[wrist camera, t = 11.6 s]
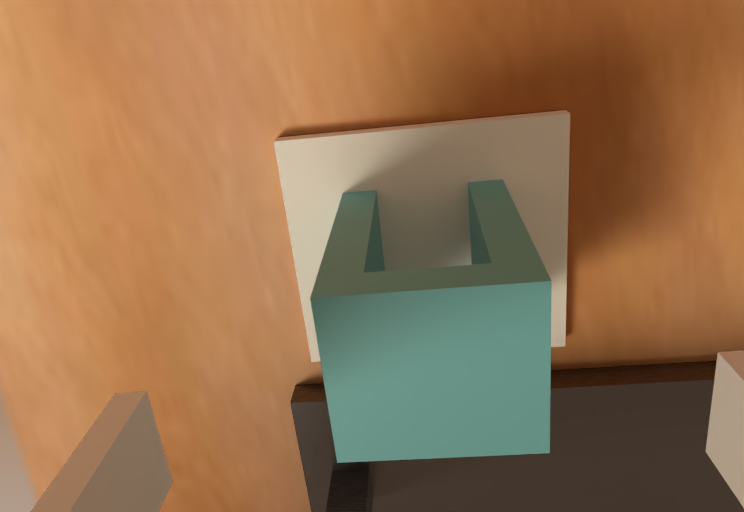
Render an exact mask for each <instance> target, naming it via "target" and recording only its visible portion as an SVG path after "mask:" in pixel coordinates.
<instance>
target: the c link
mask: <svg viewBox="0 0 744 512" xmlns="http://www.w3.org/2000/svg"><path fill="white" fill-rule="evenodd" d="M468 199H469V220H470V242H471V264H472V265H460V266H446V267H433V268H419V269H406V270H392V271H385V265H384V256H383V247H382V237H381V228H380V219H379V210H378V200H377V191H376V190H371V191H359V192H348V193H343V194H342V197H341V200H340V203H339V207H338V210H337V213H336V216H335V219H334V223H333V226H332V229H331V232H330V236H329V239H328V242H327V245H326V248H325V252H324V255H323V258H322V261H321V264H320V268H319V271H318V274H317V277H316V281H315V284H314V287H313V290H312V293H311V297H310V301H311V307H312V313H313V319H314V325H315V331H316V337H317V343H318V349H319V355H320V361H321V368H322V374H323V380H324V386H325V392H326V398H327V404H328V410H329V416H330V422H331V428H332V434H333V440H334V447H335V453H336V459H337V463H344V462H366V461H388V460H410V459H432V458H454V457H476V456H498V455H520V454H542V453H550V385H551V289H552V281H551V279H550V277H549V275H548V273H547V270H546V268H545V266H544V264H543V262H542V260H541V258H540V256H539V254H538V252H537V250H536V248H535V245H534V243H533V241H532V239H531V237H530V235H529V233H528V231H527V229H526V227H525V225H524V223H523V221H522V218H521V216H520V214H519V212H518V210H517V208H516V206H515V204H514V202H513V200H512V198H511V196H510V193H509V191H508V189H507V187H506V185H505V183H504V181H503V179H499V180H487V181H476V182H468Z"/></svg>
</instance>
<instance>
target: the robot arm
mask: <svg viewBox="0 0 744 512" xmlns="http://www.w3.org/2000/svg"><path fill="white" fill-rule="evenodd" d="M706 453H707V454H708V456H709V457H710V459H711V460H712V462H713V463H714V465H715V466H716V468H717V469H718V471H719V472H720V474H721V475H722V477H723V478H724V480H725V481H726V482H727V484H728V485H729V487H730V488H731V490H732V491H733V493H734V494H735V496H736V497H737V499H738V500H739V502H740V503H741V505H742V506H743V508H744V350H741V351H727V352H718V355H717V363H716V371H715V379H714V387H713V395H712V403H711V411H710V419H709V427H708V435H707V443H706ZM172 482H173V481H172V478H171V474H170V471H169V467H168V464H167V460H166V457H165V454H164V450H163V447H162V443H161V440H160V436H159V433H158V430H157V426H156V423H155V419H154V416H153V412H152V409H151V406H150V402H149V399H148V395H147V392H146V391H141V392H126V393H115V394H114V396H113V397H112V399H111V400H110V401H109V403H108V404H107V406H106V407H105V408H104V410H103V411H102V413H101V414H100V415H99V417H98V418H97V420H96V421H95V422H94V424H93V425H92V427H91V428H90V429H89V431H88V432H87V434H86V435H85V436H84V438H83V439H82V441H81V442H80V443H79V445H78V446H77V448H76V449H75V450H74V452H73V453H72V455H71V456H70V457H69V459H68V460H67V462H66V463H65V464H64V466H63V467H62V469H61V470H60V471H59V473H58V474H57V476H56V477H55V478H54V480H53V481H52V483H51V484H50V485H49V487H48V488H47V490H46V491H45V492H44V494H43V495H42V497H41V498H40V499H39V501H38V502H37V504H36V505H35V506H34V508H33V509H32V511H31V512H159V510H160V508H161V506H162V503H163V501H164V499H165V497H166V495H167V493H168V491H169V488H170V486H171V484H172Z"/></svg>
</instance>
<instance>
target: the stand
mask: <svg viewBox="0 0 744 512" xmlns="http://www.w3.org/2000/svg"><path fill="white" fill-rule="evenodd" d="M716 363H717V361H708V362H691V363H674V364H656V365H639V366H622V367H605V368H587V369H570V370H553V371H551V385H550V453H542V454H520V455H498V456H476V457H454V458H432V459H410V460H388V461H366V462H344V463H337V459H336V453H335V447H334V440H333V434H332V428H331V422H330V416H329V410H328V404H327V398H326V392H325V386H324V384H311V385H295V389H294V392H293V396H292V399H291V408H292V413H293V419H294V424H295V429H296V434H297V439H298V444H299V449H300V455H301V460H302V465H303V470H304V475H305V480H306V486H307V491H308V496H309V501H310V506H311V511H312V512H744V508H743V506H742V505H741V503H740V502H739V500H738V499H737V497H736V496H735V494H734V493H733V491H732V490H731V488H730V487H729V485H728V484H727V482H726V481H725V480H724V478H723V477H722V475H721V474H720V472H719V471H718V469H717V468H716V466H715V465H714V463H713V462H712V460H711V459H710V457H709V456H708V454H707V453H706V443H707V435H708V427H709V419H710V411H711V403H712V395H713V387H714V379H715V371H716Z"/></svg>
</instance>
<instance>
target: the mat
mask: <svg viewBox="0 0 744 512" xmlns="http://www.w3.org/2000/svg"><path fill="white" fill-rule="evenodd" d="M274 147H275V153H276V158H277V164H278V170H279V176H280V182H281V188H282V193H283V199H284V205H285V211H286V217H287V222H288V228H289V234H290V240H291V246H292V251H293V257H294V263H295V269H296V275H297V280H298V286H299V292H300V298H301V304H302V310H303V315H304V321H305V327H306V333H307V339H308V344H309V350H310V356H311V362H319V361H320V355H319V349H318V343H317V337H316V331H315V325H314V319H313V313H312V307H311V301H310V297H311V293H312V290H313V287H314V284H315V281H316V277H317V274H318V271H319V268H320V264H321V261H322V258H323V255H324V252H325V248H326V245H327V242H328V239H329V236H330V232H331V229H332V226H333V223H334V219H335V216H336V213H337V210H338V207H339V203H340V200H341V197H342V194H343V193H348V192H359V191H371V190H376V191H377V200H378V210H379V219H380V228H381V237H382V247H383V256H384V265H385V271H392V270H406V269H419V268H433V267H446V266H460V265H472V264H471V242H470V220H469V199H468V182H476V181H487V180H499V179H503V181H504V183H505V185H506V187H507V189H508V191H509V193H510V196H511V198H512V200H513V202H514V204H515V206H516V208H517V210H518V212H519V214H520V216H521V218H522V221H523V223H524V225H525V227H526V229H527V231H528V233H529V235H530V237H531V239H532V241H533V243H534V245H535V248H536V250H537V252H538V254H539V256H540V258H541V260H542V262H543V264H544V266H545V268H546V270H547V273H548V275H549V277H550V279H551V281H552V289H551V347H564V346H565V343H566V295H567V247H568V199H569V151H570V113H569V112H568V111H567V110H561V111H550V112H540V113H529V114H519V115H508V116H498V117H488V118H477V119H467V120H456V121H446V122H435V123H425V124H414V125H404V126H393V127H383V128H372V129H362V130H351V131H341V132H331V133H320V134H310V135H299V136H289V137H278V138H276V139H275V141H274Z"/></svg>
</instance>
